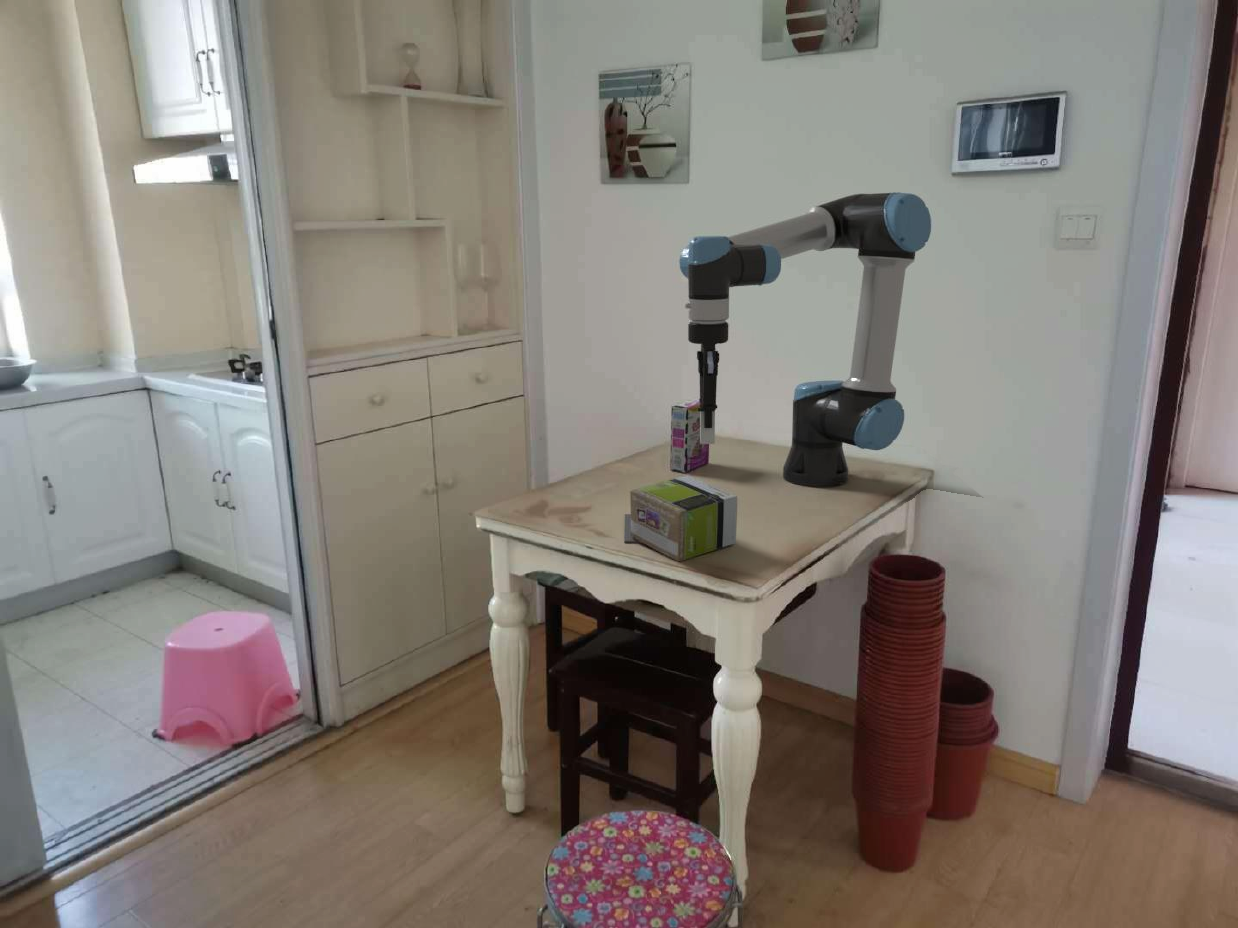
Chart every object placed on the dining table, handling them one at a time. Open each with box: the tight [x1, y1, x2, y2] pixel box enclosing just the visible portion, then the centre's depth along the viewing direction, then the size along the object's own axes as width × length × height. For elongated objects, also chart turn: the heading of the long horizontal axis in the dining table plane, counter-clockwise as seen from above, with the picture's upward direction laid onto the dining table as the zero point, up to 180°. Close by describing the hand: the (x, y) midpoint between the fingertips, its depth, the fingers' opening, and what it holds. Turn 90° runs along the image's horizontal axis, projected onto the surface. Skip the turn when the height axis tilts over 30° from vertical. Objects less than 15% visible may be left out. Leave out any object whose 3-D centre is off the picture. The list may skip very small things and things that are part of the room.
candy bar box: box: [669, 398, 710, 474], centre depth 224 cm, size 11×5×16 cm, turn 144°
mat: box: [623, 513, 643, 544], centre depth 183 cm, size 14×16×1 cm
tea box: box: [629, 474, 738, 562], centre depth 174 cm, size 15×10×15 cm
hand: (707, 442), depth 177 cm, fingers closed
